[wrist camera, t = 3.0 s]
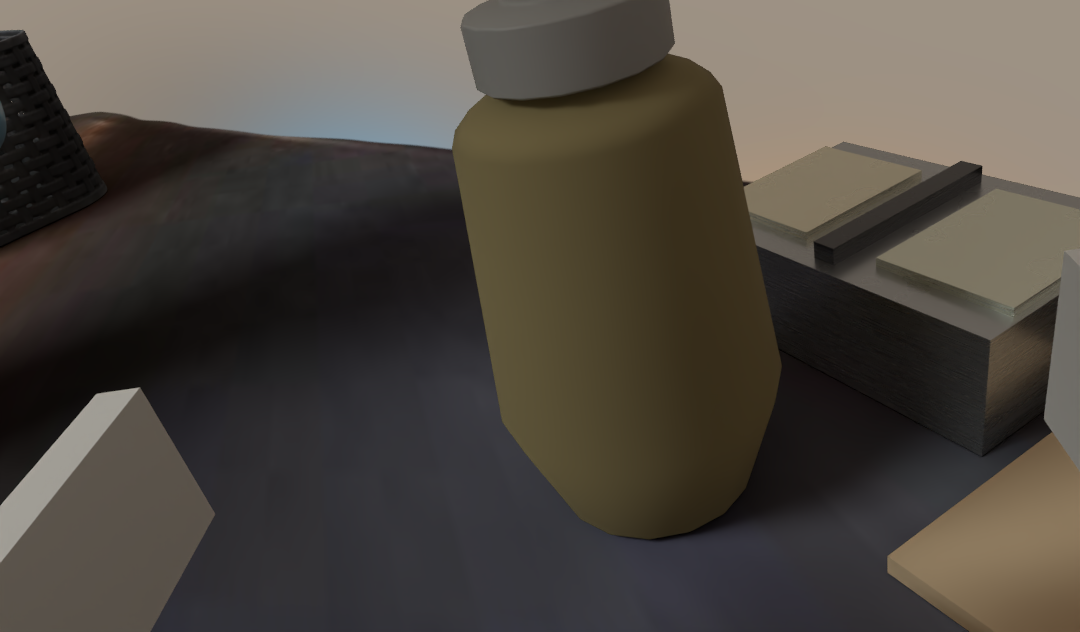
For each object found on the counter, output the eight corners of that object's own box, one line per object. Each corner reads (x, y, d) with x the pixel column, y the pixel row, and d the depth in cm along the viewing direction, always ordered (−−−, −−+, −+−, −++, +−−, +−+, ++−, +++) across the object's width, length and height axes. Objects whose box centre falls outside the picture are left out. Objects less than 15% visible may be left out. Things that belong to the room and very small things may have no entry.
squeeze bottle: (478, 531, 25) (239, -122, 16) (601, 374, 30) (477, -181, 21) (732, 614, 21) (606, -223, 11) (824, 414, 26) (788, -265, 17)
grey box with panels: (702, 308, 33) (687, 203, 30) (846, 229, 35) (843, 127, 33) (981, 456, 23) (992, 321, 21) (1149, 333, 26) (1175, 200, 23)
